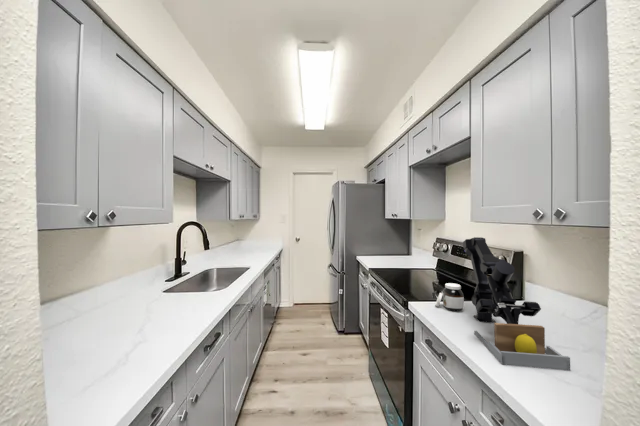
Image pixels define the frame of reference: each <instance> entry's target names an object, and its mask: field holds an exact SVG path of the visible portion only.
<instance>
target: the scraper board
mask: <svg viewBox="0 0 640 426" xmlns="http://www.w3.org/2000/svg"><path fill="white" fill-rule="evenodd" d="M493 326H494V327H493V328H494V335H493V336H494V337H493V338H494V345H495V346H496V347H497V348H498V349H499V350H500V351H507V352H517V351H516V349H515V340H516V338H517V336H519V335H522V334H527V335H528V336H530V337H531V338H532V339H533V340H534V341H535V343H536V347H537V353H536V354H546V353H545V348H546V339H545V338H546V337H545V336H546V335H545V331H546V330H545V329H546V328H545V327H544V326H543V325H537V324H535V325H534V324H521V323H520V324H519V323H518V324H507V323H506V322H505V323H502V322H496V323H493Z"/></svg>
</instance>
